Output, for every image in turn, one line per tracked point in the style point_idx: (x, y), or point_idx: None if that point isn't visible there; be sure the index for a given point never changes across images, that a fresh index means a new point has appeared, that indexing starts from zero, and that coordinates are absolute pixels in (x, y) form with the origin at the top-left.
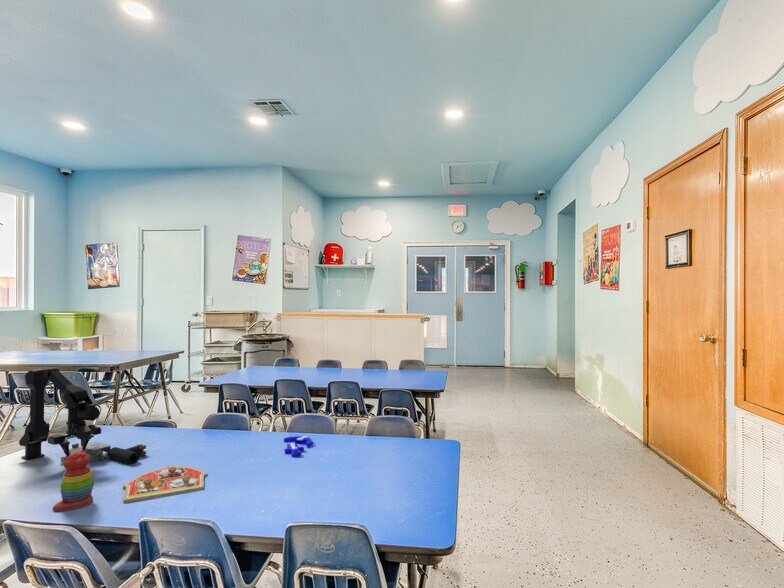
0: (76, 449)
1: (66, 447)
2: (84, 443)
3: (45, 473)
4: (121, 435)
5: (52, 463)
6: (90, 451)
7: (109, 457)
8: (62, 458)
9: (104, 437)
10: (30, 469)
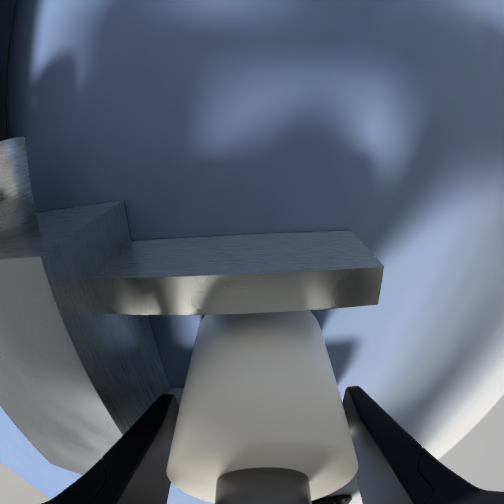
0: (295, 432)
1: (440, 481)
2: (127, 494)
3: (500, 261)
4: (10, 449)
5: None
6: (92, 335)
7: None
8: None
9: (58, 479)
10: (450, 403)
